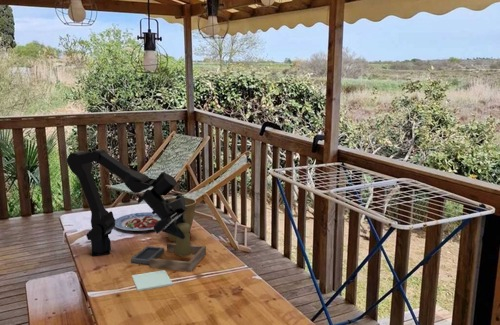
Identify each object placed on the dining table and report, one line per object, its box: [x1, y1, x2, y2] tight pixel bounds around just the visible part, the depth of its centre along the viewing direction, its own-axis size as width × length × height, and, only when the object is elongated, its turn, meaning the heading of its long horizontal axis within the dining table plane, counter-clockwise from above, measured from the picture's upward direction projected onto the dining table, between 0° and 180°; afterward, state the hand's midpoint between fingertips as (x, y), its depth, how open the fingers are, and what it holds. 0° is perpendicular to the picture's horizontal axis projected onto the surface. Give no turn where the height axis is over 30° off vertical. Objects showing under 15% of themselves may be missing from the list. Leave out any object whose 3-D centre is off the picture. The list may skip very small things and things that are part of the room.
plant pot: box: [164, 197, 197, 243], centre depth 182 cm, size 15×15×16 cm
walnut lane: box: [148, 242, 207, 273], centre depth 162 cm, size 15×16×3 cm
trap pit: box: [130, 245, 165, 266], centre depth 164 cm, size 7×13×2 cm, turn 167°
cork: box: [174, 223, 192, 257], centre depth 160 cm, size 6×6×11 cm
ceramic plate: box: [114, 211, 161, 232], centre depth 201 cm, size 26×26×3 cm
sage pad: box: [131, 269, 173, 292], centre depth 145 cm, size 11×11×1 cm
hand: (186, 235), depth 159 cm, fingers closed on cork, 5 cm apart
